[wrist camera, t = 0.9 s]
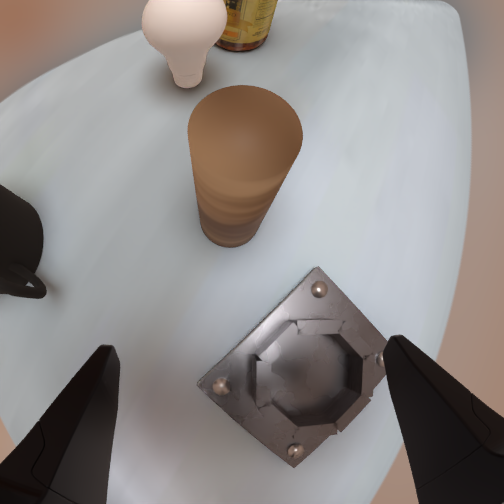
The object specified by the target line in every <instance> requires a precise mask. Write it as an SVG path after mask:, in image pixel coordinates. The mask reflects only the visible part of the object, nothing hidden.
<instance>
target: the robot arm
mask: <svg viewBox="0 0 504 504" xmlns="http://www.w3.org/2000/svg"><path fill="white" fill-rule="evenodd" d="M382 356H383V362H384V366H385V371H386V376H387V381H388V386H389V391H390V395H391V399H392V402H393V405H394V409H395V412H396V415H397V419H398V422H399V426H400V429H401V433H402V436H403V440H404V444H405V447H406V451H407V455H408V459H409V463H410V466H411V471H412V475H413V479H414V483H415V488H416V493H417V497H418V502H419V504H504V418H503V417H502V416H501V415H499V414H498V413H496V412H495V411H494V410H492V409H491V408H489V407H488V406H487V405H486V404H485V403H483V402H482V401H481V400H480V399H478V398H477V397H476V396H475V395H474V394H473V393H471V392H470V391H469V390H468V389H467V388H465V387H464V386H463V385H462V384H461V383H460V382H458V381H457V380H456V379H455V378H454V377H453V376H451V375H450V374H449V373H448V372H447V371H445V370H444V369H443V368H442V367H441V366H439V365H438V364H437V363H436V362H435V361H433V360H432V359H431V358H430V357H429V356H427V355H426V354H425V353H424V352H423V351H421V350H420V349H419V348H418V347H417V346H415V345H414V344H413V343H412V342H410V341H409V340H408V339H407V338H406V337H404V336H403V335H394V336H391V337H390V338H389V340H388V342H387V344H386V346H385V348H384V350H383V354H382ZM119 378H120V361H119V358H118V356H117V353H116V350H115V348H114V346H113V345H100V346H99V347H98V348H97V350H96V351H95V352H94V353H93V354H92V355H91V357H90V358H89V359H88V360H87V361H86V363H85V364H84V365H83V366H82V367H81V369H80V370H79V371H78V372H77V373H76V375H75V376H74V377H73V378H72V379H71V381H70V382H69V383H68V384H67V385H66V387H65V388H64V389H63V390H62V392H61V393H60V394H59V395H58V397H57V398H56V399H55V400H54V401H53V403H52V404H51V405H50V406H49V408H48V409H47V410H46V412H45V413H44V414H43V415H42V417H41V418H40V419H39V421H38V422H37V423H36V424H35V425H34V427H33V428H32V429H31V430H30V432H29V433H28V434H27V435H26V437H25V438H24V439H23V440H22V441H21V442H20V443H19V445H18V446H17V447H16V448H15V449H14V450H13V451H12V452H11V453H10V454H9V455H8V456H7V457H6V458H5V459H4V460H3V461H2V463H1V464H0V504H106V501H107V489H108V479H109V469H110V461H111V453H112V445H113V438H114V431H115V424H116V418H117V411H118V395H119Z"/></svg>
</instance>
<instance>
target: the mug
mask: <svg viewBox="0 0 504 504" xmlns="http://www.w3.org/2000/svg"><path fill="white" fill-rule="evenodd" d="M42 248H43V229H42V225H41V221H40V218H39V216H38V214H37V212H36V210H35V209H34V208H33V207H32V206H31V205H30V204H29V203H28V202H26V201H25V200H23V199H21V198H20V197H18V196H17V195H15V194H14V193H12V192H11V191H9V190H8V189H6V188H5V187H3V186H2V185H0V294H9V295H12V296H17V297H25V298H35V299H40V298H43V297H44V296H45V295H46V293H47V290H46V287H45V285H44V283H43V282H42V281H41V280H40V279H39V278H38V277H37V276H36V275H35V274H34V273H35V271H36V269H37V266H38V264H39V261H40V258H41V254H42ZM28 281H29V282H30V283H31V284H32V285H33V286H34V287H30V286H25V285H26V284H27V282H28Z"/></svg>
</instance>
